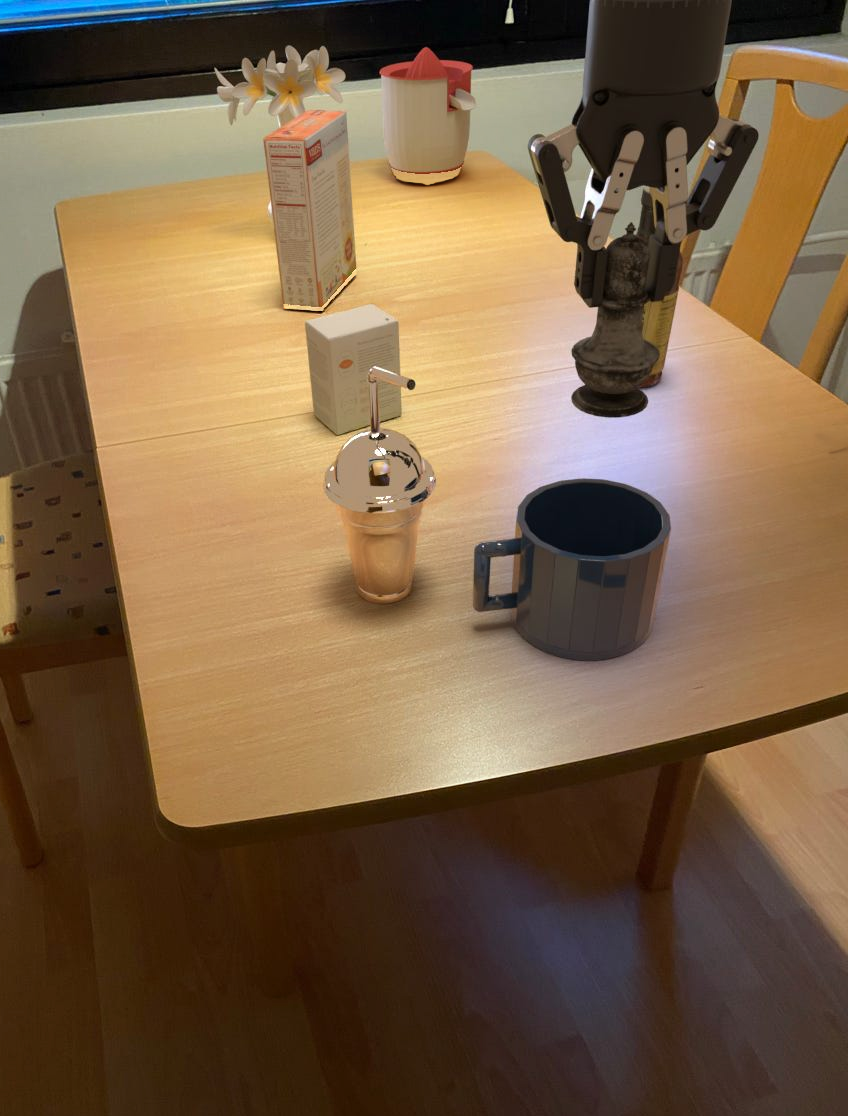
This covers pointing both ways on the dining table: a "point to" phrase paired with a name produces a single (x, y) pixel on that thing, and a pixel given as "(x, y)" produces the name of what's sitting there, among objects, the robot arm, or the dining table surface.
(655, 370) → the sauce bottle
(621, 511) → the mug
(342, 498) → the cup with straw
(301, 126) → the cracker box
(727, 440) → the dining table surface
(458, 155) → the citrus juicer
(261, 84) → the flower vase
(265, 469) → the dining table surface
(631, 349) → the salt shaker
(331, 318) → the small box
